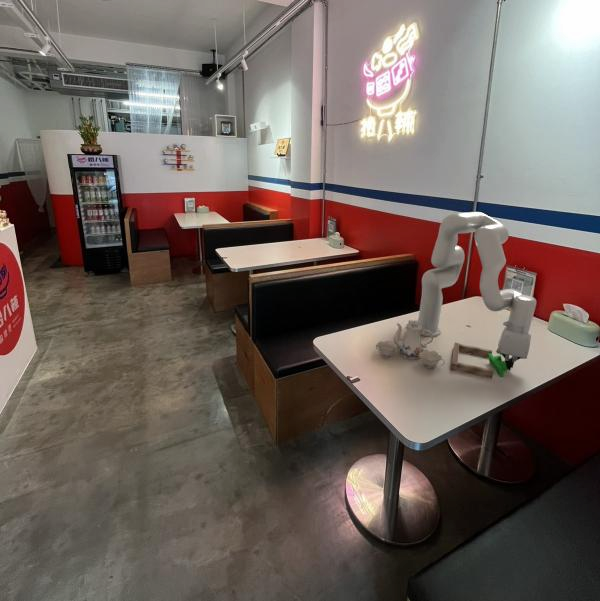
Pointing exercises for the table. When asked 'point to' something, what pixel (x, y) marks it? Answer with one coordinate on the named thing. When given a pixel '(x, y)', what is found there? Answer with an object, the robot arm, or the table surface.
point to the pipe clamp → (497, 364)
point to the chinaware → (410, 346)
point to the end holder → (470, 368)
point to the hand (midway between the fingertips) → (507, 368)
